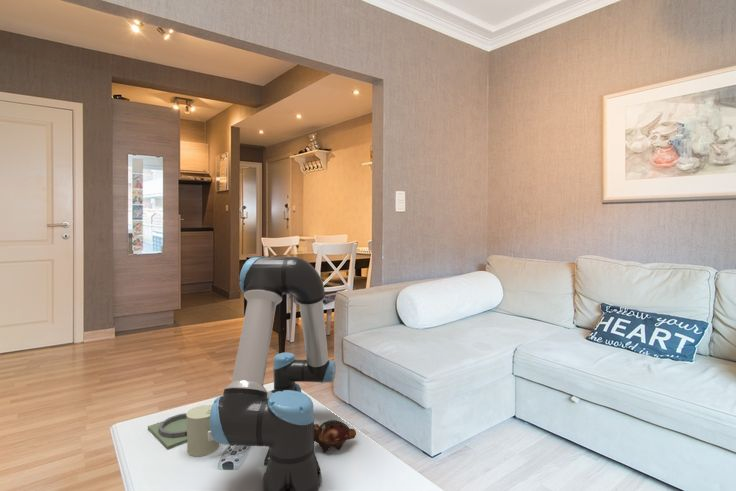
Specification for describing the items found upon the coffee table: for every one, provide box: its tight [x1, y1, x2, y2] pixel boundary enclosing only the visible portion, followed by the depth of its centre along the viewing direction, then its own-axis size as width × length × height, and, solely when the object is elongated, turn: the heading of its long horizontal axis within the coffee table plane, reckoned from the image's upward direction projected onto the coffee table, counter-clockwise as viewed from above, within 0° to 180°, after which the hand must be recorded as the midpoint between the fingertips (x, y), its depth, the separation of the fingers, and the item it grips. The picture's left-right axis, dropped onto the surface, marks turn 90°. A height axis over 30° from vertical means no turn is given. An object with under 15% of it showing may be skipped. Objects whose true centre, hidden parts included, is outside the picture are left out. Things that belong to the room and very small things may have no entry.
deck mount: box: [147, 412, 187, 450], centre depth 134 cm, size 18×16×2 cm
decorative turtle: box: [314, 419, 357, 453], centre depth 124 cm, size 10×15×8 cm, turn 115°
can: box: [186, 404, 220, 457], centre depth 123 cm, size 9×9×12 cm
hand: (198, 428), depth 122 cm, fingers open, 13 cm apart
